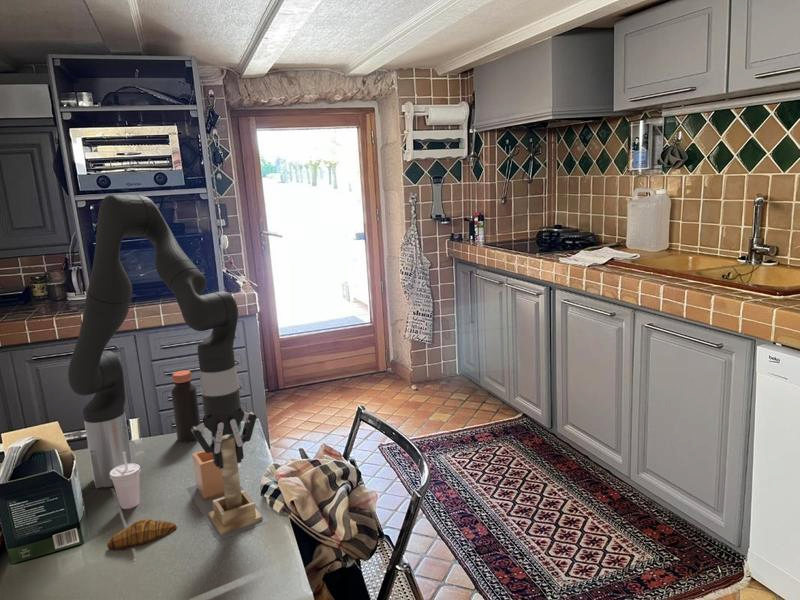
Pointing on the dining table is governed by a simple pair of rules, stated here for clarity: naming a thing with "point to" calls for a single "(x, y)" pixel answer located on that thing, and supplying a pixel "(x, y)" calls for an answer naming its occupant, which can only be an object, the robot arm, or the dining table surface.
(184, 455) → the dining table surface
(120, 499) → the smoothie
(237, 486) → the dowel
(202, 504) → the slate board
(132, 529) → the croissant
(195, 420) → the vinegar
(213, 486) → the deep cup
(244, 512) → the short stand
